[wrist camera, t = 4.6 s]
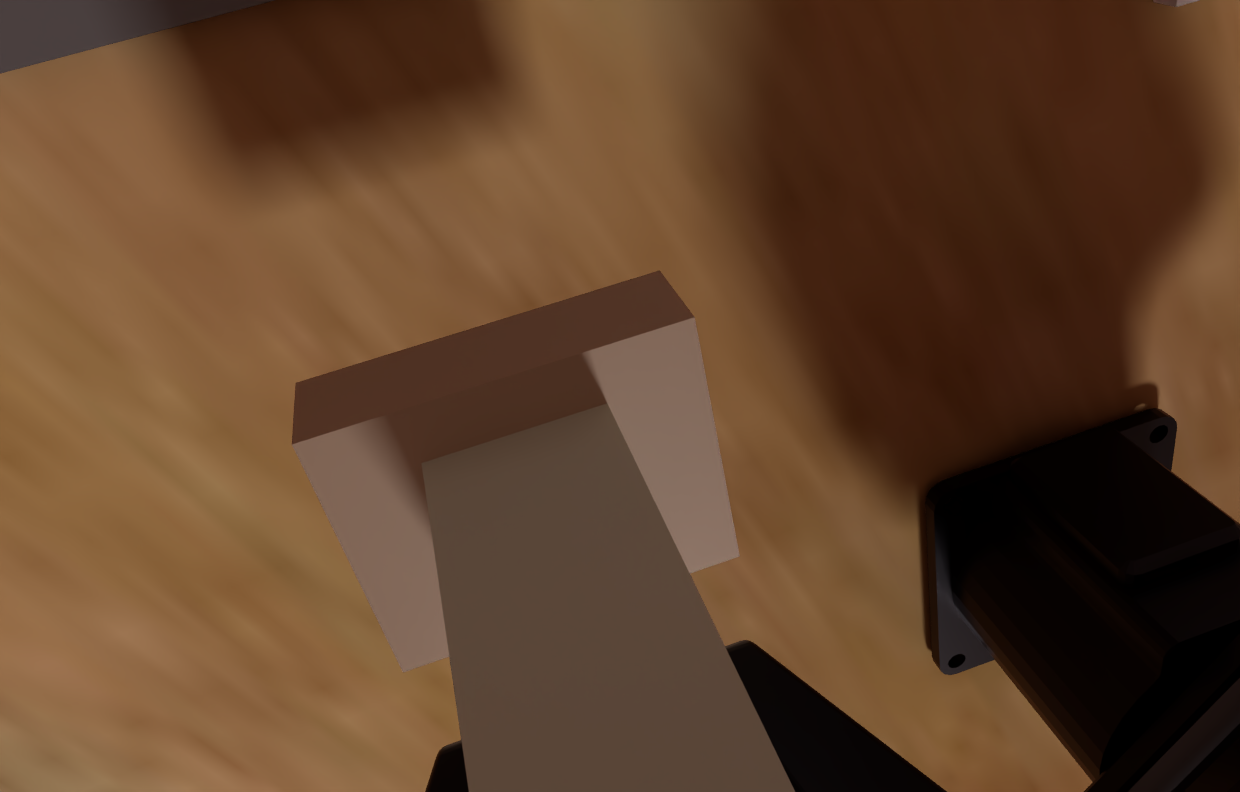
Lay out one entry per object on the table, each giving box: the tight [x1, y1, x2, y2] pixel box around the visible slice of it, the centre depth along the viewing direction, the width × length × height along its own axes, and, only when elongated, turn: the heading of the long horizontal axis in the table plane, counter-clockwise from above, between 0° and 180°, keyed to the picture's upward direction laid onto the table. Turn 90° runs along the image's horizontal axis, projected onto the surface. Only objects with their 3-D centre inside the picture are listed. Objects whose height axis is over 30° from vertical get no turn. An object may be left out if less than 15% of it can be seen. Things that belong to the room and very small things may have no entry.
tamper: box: [292, 271, 795, 792], centre depth 10 cm, size 4×5×10 cm
